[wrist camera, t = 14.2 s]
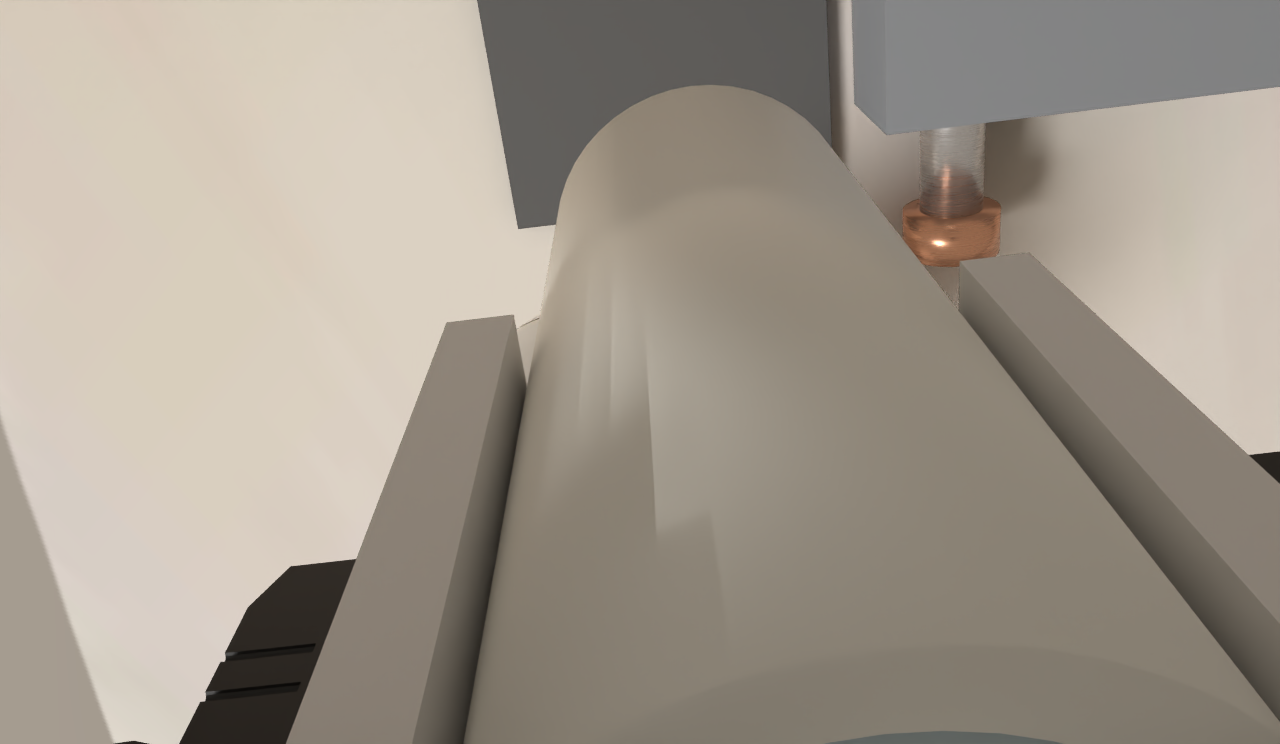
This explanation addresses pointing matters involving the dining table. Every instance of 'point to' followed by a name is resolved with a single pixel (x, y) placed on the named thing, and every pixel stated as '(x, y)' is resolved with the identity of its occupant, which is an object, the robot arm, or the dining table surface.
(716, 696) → the cylinder
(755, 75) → the mat
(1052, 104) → the frame
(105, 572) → the dining table surface
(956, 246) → the plunger
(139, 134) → the dining table surface
